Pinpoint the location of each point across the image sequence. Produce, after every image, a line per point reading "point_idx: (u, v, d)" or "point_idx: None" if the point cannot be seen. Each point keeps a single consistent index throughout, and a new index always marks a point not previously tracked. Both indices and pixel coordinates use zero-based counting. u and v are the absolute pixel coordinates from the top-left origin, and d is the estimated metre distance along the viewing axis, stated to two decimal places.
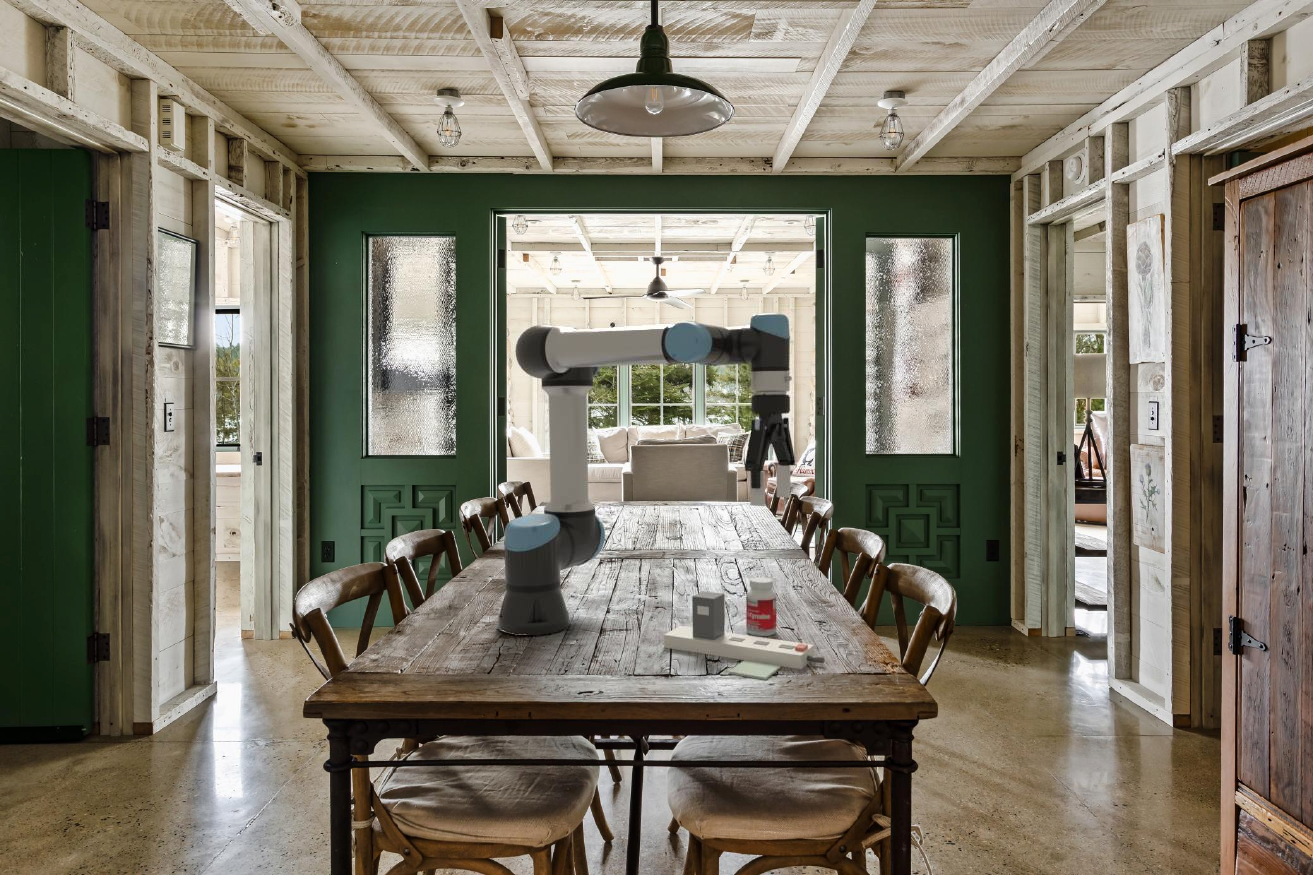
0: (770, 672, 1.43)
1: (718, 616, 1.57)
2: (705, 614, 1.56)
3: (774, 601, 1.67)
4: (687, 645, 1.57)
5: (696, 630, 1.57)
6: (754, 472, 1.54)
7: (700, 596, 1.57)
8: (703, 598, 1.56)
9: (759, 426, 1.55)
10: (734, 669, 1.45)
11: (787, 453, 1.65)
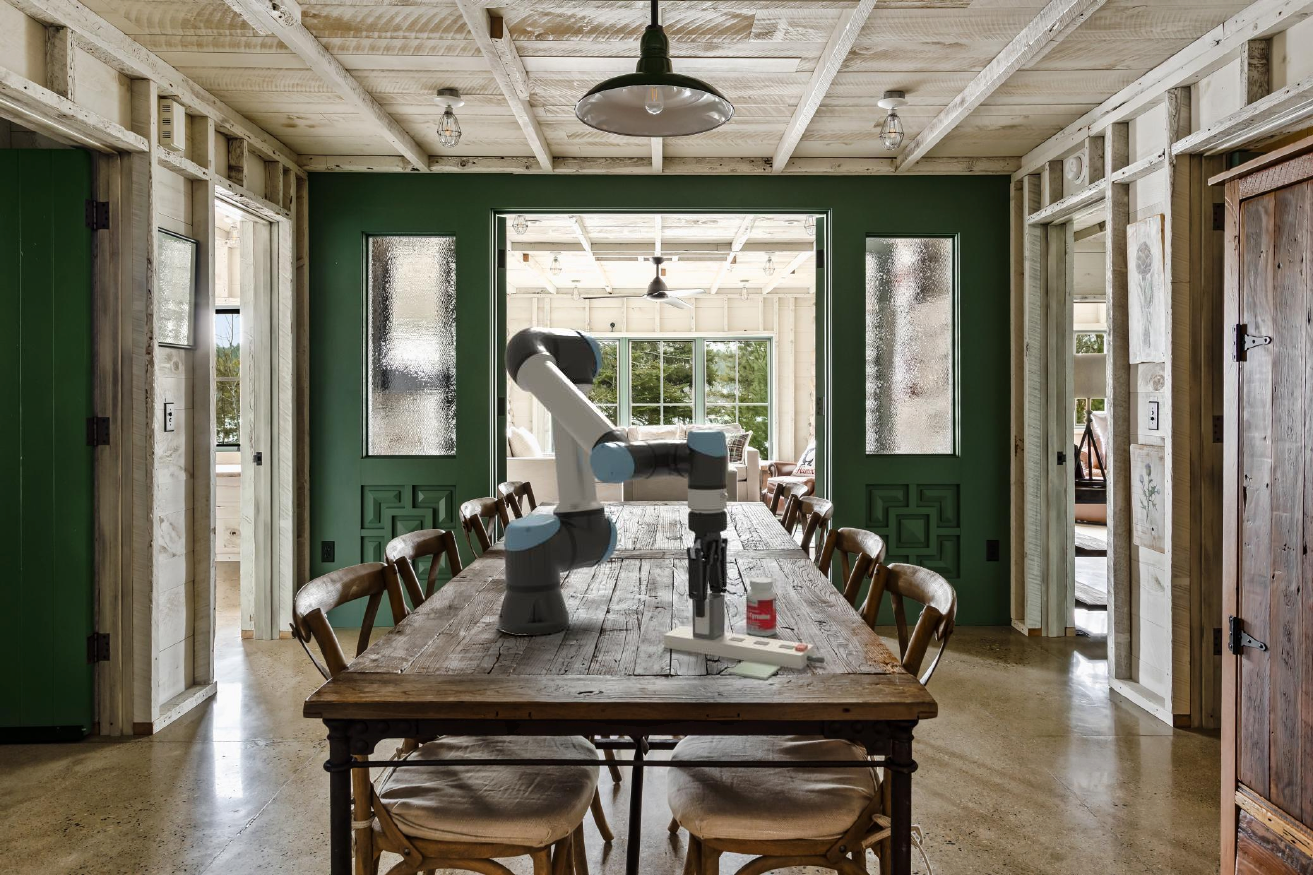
0: (770, 672, 1.43)
1: (718, 617, 1.57)
2: None
3: (774, 601, 1.67)
4: (687, 645, 1.57)
5: None
6: (698, 601, 1.55)
7: None
8: None
9: (695, 556, 1.52)
10: (734, 669, 1.45)
11: (719, 577, 1.60)
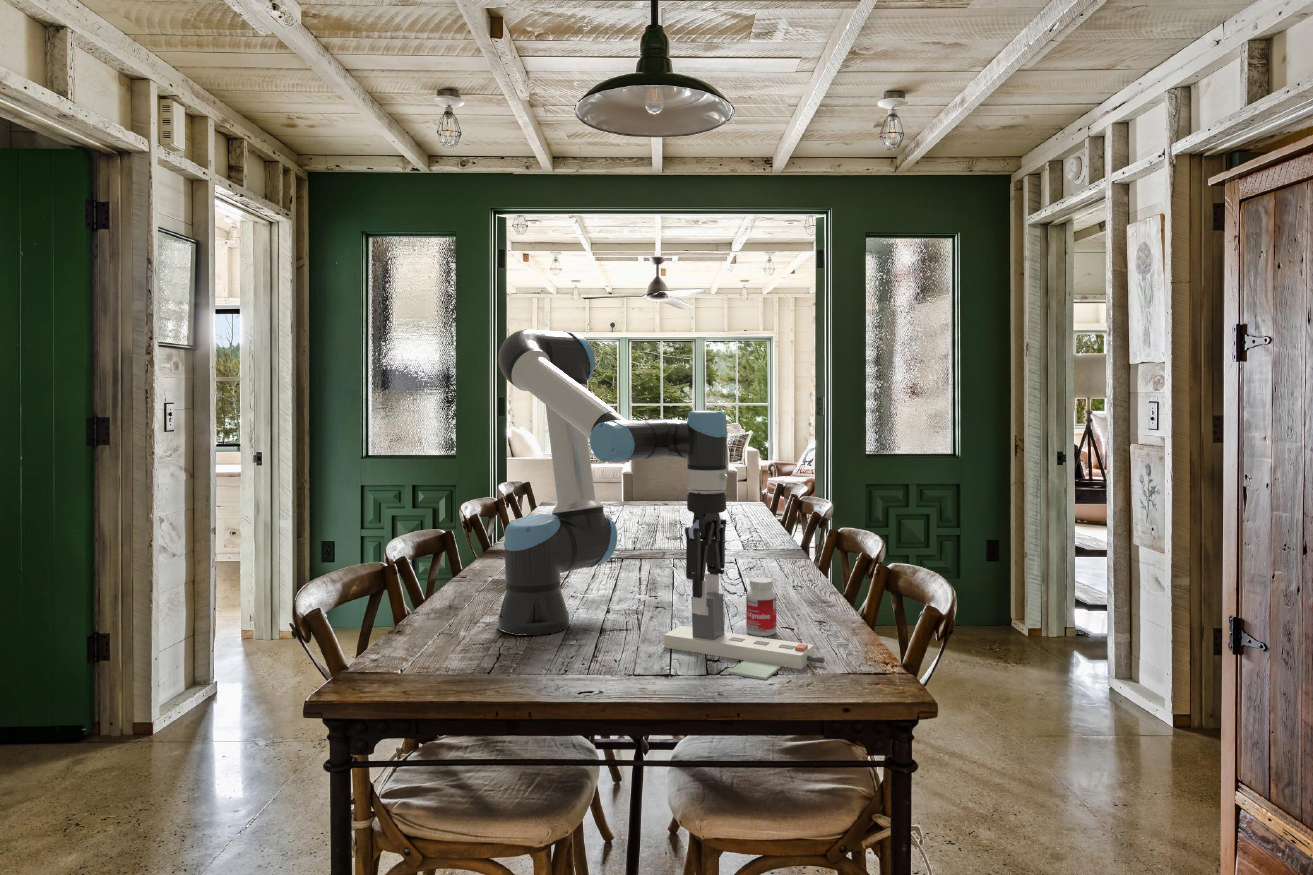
0: (770, 672, 1.43)
1: (718, 616, 1.57)
2: None
3: (774, 601, 1.67)
4: (687, 645, 1.57)
5: (696, 631, 1.58)
6: (696, 582, 1.55)
7: None
8: None
9: (693, 536, 1.52)
10: (734, 669, 1.45)
11: (717, 558, 1.60)
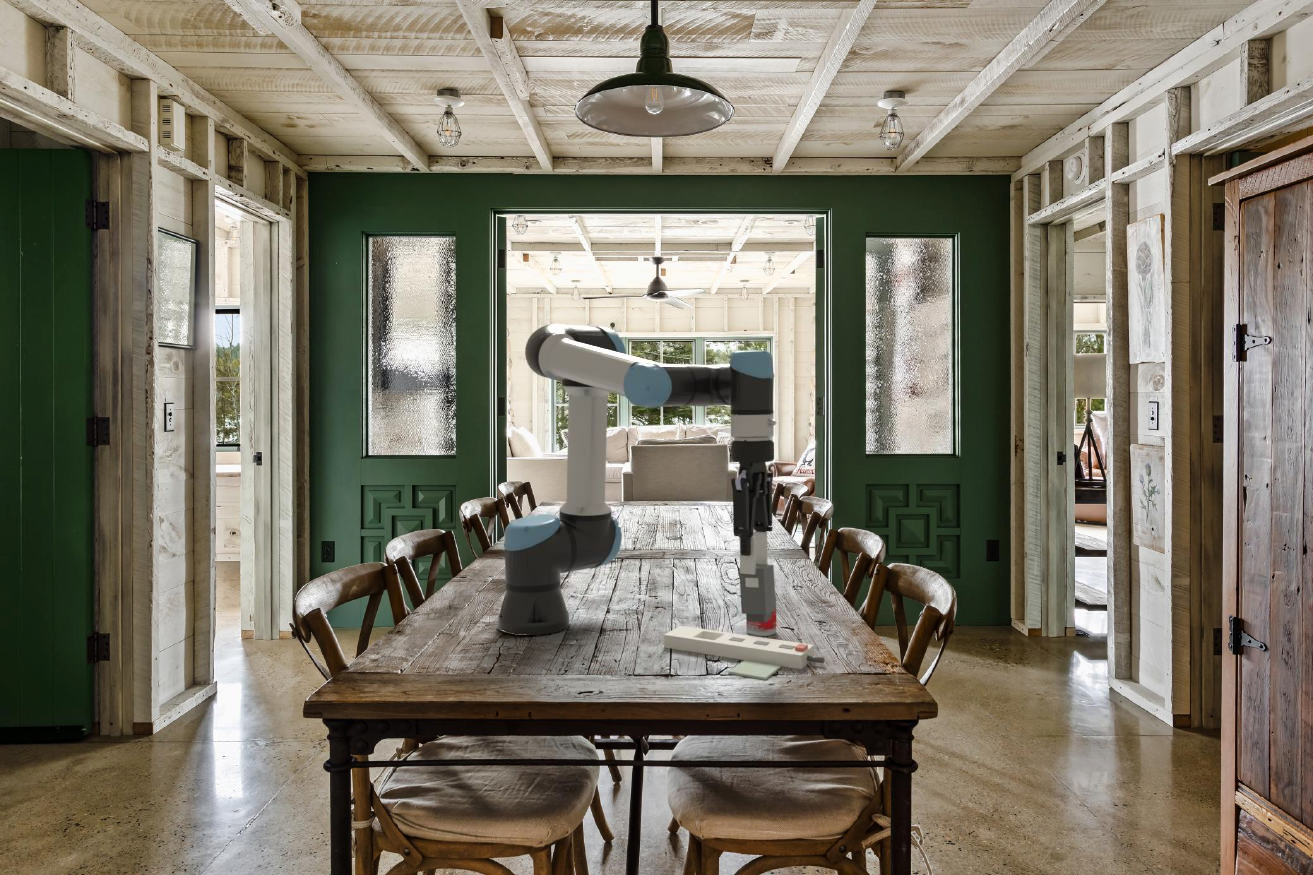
0: (770, 672, 1.43)
1: (769, 589, 1.43)
2: (754, 586, 1.42)
3: None
4: (687, 645, 1.57)
5: (745, 605, 1.43)
6: (744, 538, 1.41)
7: None
8: None
9: (741, 487, 1.39)
10: (734, 669, 1.45)
11: (765, 514, 1.46)
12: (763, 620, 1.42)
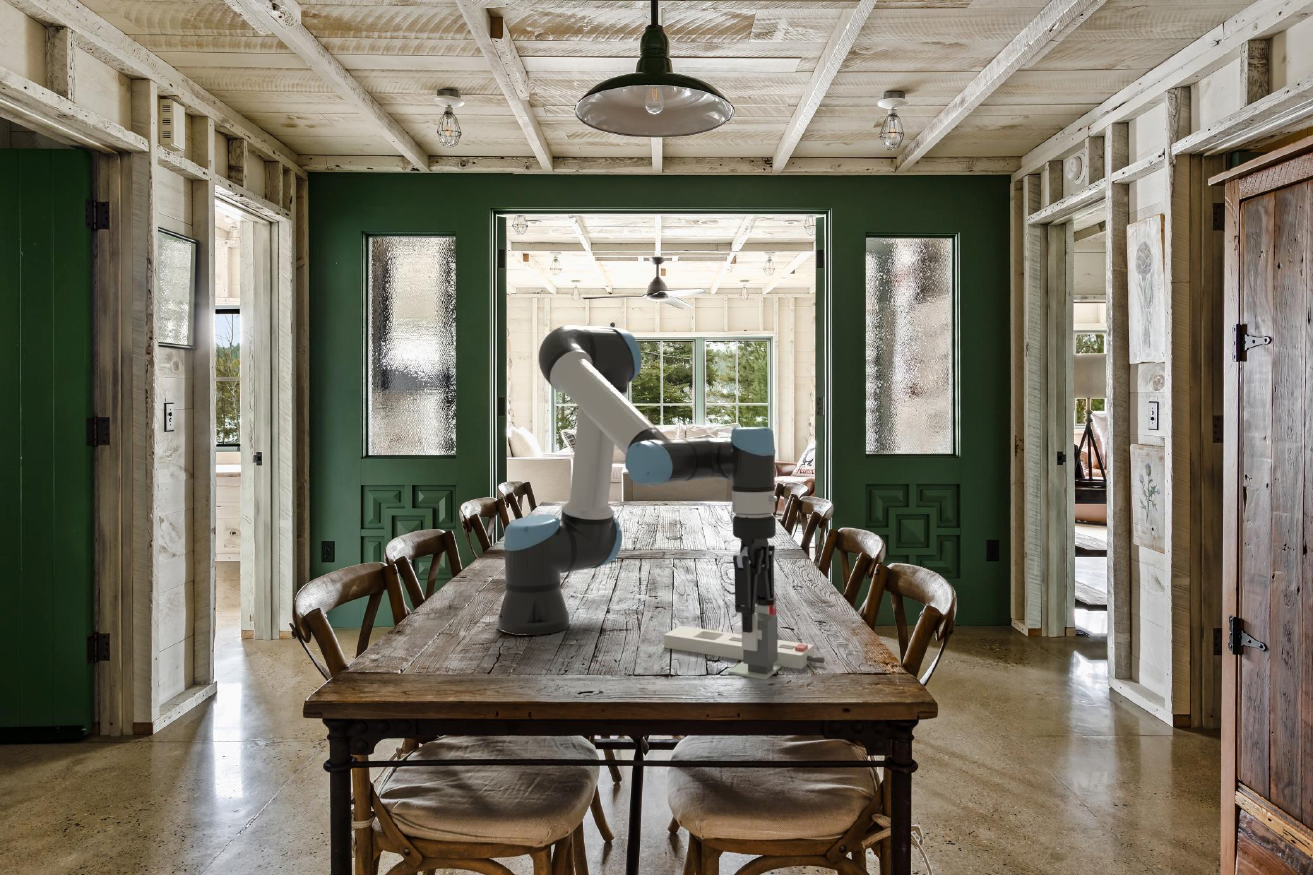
0: (770, 672, 1.43)
1: (772, 640, 1.43)
2: None
3: None
4: (687, 645, 1.57)
5: (747, 656, 1.43)
6: (745, 615, 1.41)
7: None
8: None
9: (742, 565, 1.39)
10: (734, 669, 1.45)
11: (767, 588, 1.46)
12: (764, 672, 1.42)
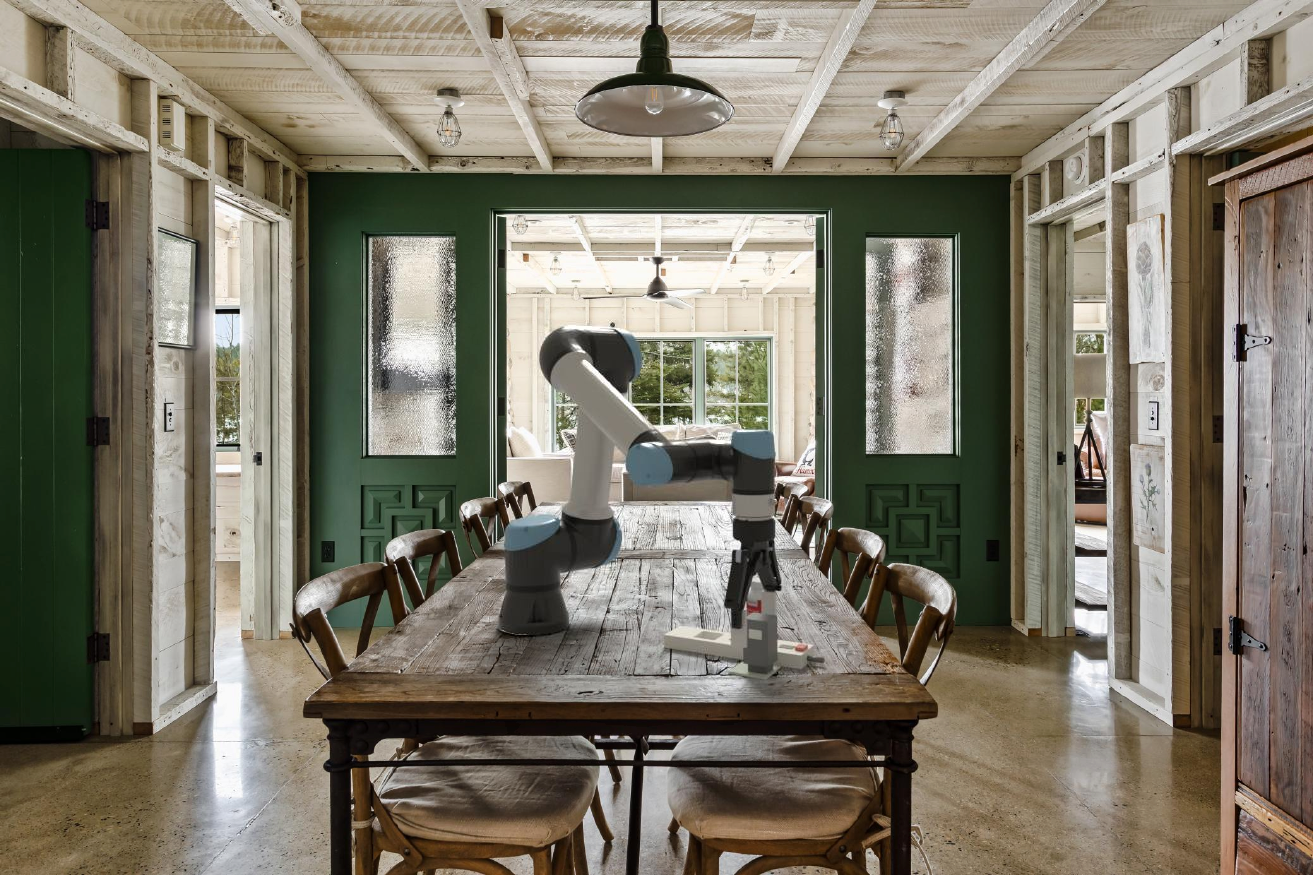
0: (770, 672, 1.43)
1: (772, 640, 1.43)
2: (757, 638, 1.42)
3: None
4: (687, 645, 1.57)
5: (747, 656, 1.43)
6: (735, 611, 1.38)
7: (752, 618, 1.43)
8: (755, 621, 1.42)
9: (740, 559, 1.38)
10: (734, 669, 1.45)
11: (772, 579, 1.49)
12: (764, 672, 1.42)
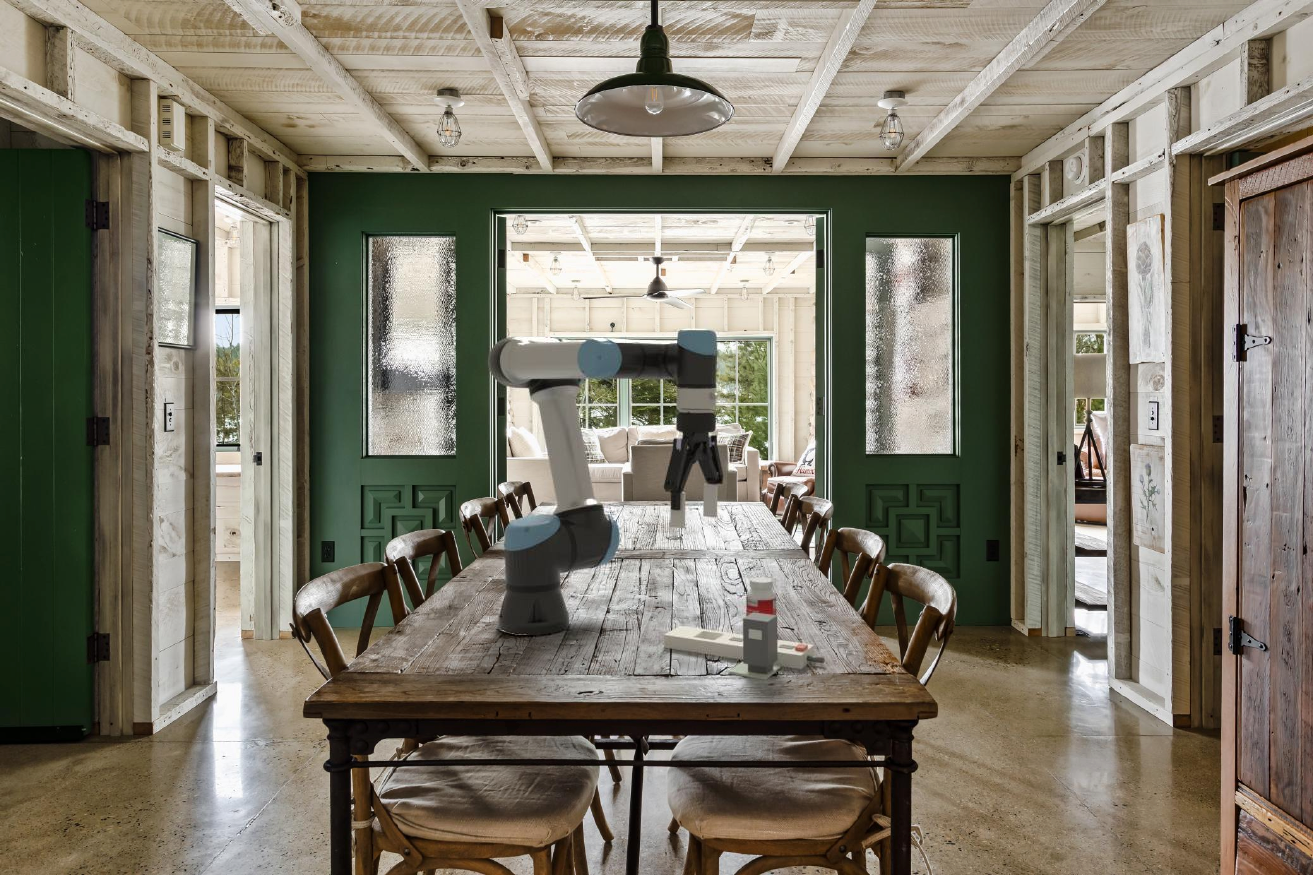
0: (770, 672, 1.43)
1: (772, 640, 1.43)
2: (757, 638, 1.42)
3: (774, 601, 1.67)
4: (687, 645, 1.57)
5: (747, 656, 1.43)
6: (674, 493, 1.49)
7: (752, 618, 1.43)
8: (755, 621, 1.42)
9: (680, 446, 1.50)
10: (734, 669, 1.45)
11: (713, 472, 1.61)
12: (764, 672, 1.42)
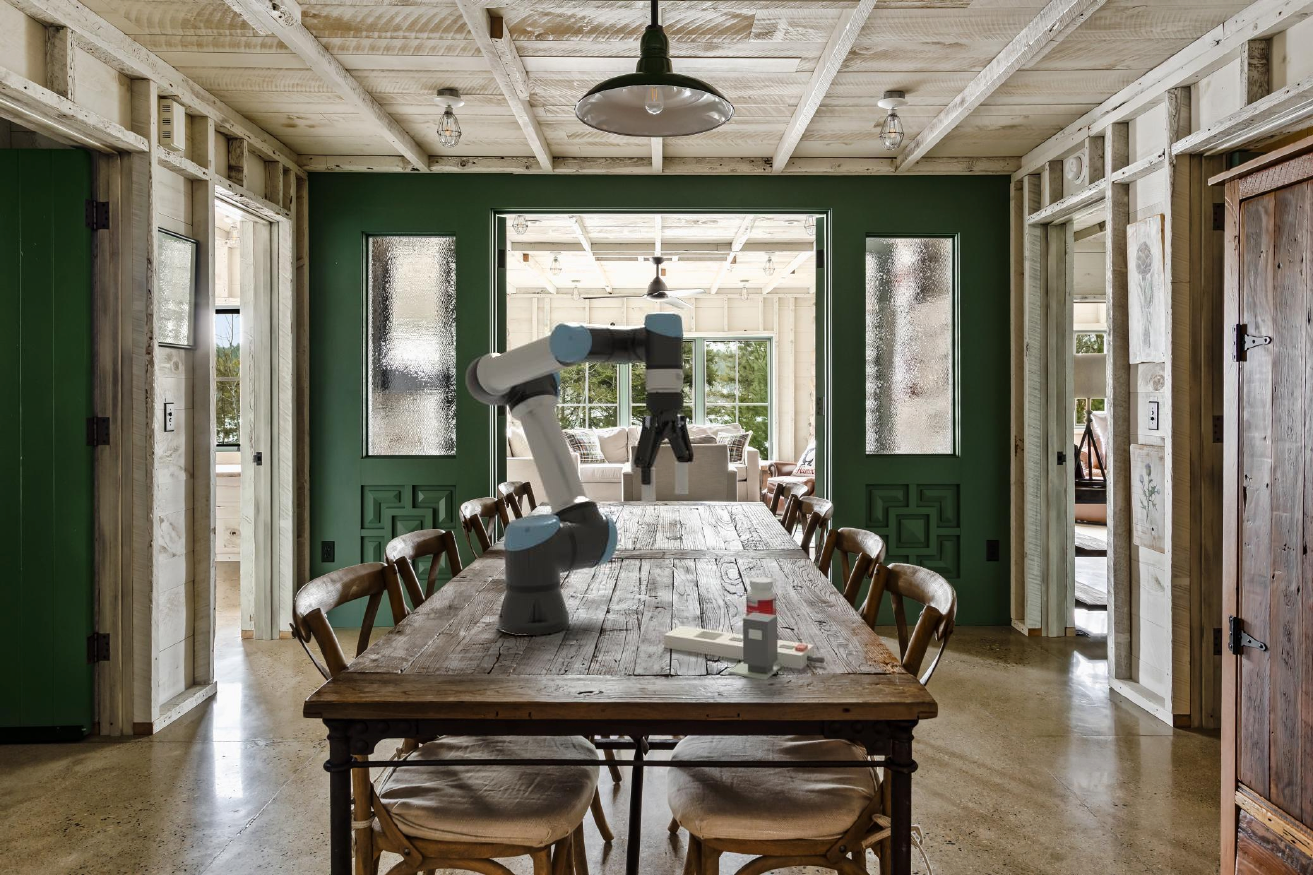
0: (770, 672, 1.43)
1: (772, 640, 1.43)
2: (757, 638, 1.42)
3: (774, 601, 1.67)
4: (687, 645, 1.57)
5: (747, 656, 1.43)
6: (644, 469, 1.56)
7: (752, 618, 1.43)
8: (755, 621, 1.42)
9: (649, 424, 1.57)
10: (734, 669, 1.45)
11: (683, 450, 1.68)
12: (764, 672, 1.42)
